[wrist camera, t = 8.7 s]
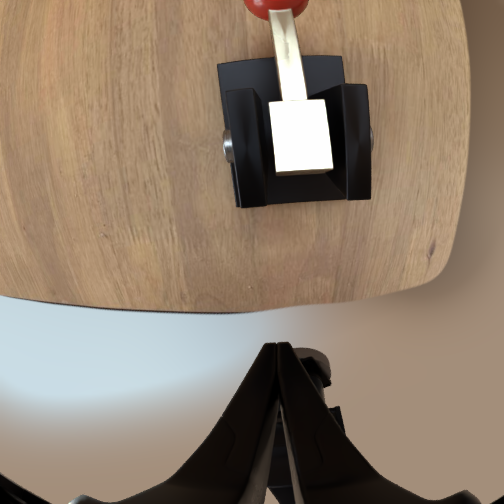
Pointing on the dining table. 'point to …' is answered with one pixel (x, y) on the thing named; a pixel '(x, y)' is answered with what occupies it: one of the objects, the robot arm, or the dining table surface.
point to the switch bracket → (260, 141)
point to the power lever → (293, 97)
